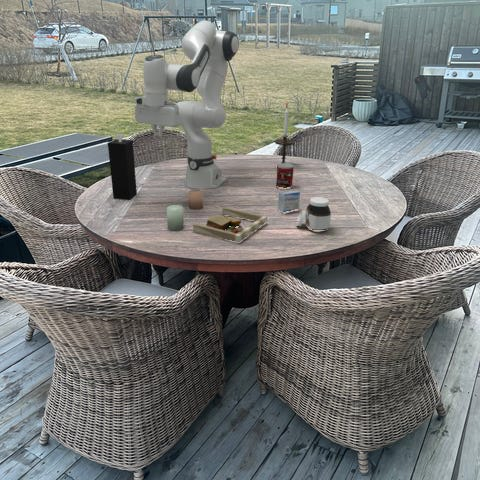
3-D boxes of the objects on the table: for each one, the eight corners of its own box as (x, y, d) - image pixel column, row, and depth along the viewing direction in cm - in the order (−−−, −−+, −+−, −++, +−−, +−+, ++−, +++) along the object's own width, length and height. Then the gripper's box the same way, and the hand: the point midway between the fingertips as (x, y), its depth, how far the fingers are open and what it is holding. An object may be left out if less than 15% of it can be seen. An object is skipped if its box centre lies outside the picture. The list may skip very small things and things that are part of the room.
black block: (129, 200, 195) (124, 136, 183) (113, 199, 196) (106, 134, 184) (137, 194, 202) (132, 132, 190) (121, 193, 203) (115, 131, 191)
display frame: (224, 213, 182) (224, 206, 181) (266, 223, 174) (267, 216, 172) (193, 232, 165) (192, 224, 164) (238, 243, 156) (239, 236, 155)
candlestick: (287, 170, 244) (291, 104, 229) (270, 167, 249) (273, 102, 234) (296, 166, 252) (301, 102, 237) (279, 163, 257) (283, 100, 243)
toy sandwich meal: (228, 241, 159) (228, 228, 157) (200, 231, 166) (200, 219, 164) (249, 230, 168) (249, 218, 166) (221, 221, 175) (221, 210, 173)
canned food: (274, 188, 214) (275, 166, 210) (279, 184, 221) (280, 162, 216) (289, 190, 212) (290, 168, 207) (293, 186, 218) (295, 164, 214)
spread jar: (331, 233, 167) (335, 203, 162) (304, 236, 164) (306, 206, 159) (317, 221, 177) (320, 193, 172) (291, 223, 174) (293, 195, 169)
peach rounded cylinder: (194, 204, 192) (193, 188, 189) (205, 206, 190) (205, 191, 187) (185, 208, 187) (185, 192, 185) (197, 211, 185) (197, 195, 182)
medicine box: (282, 214, 183) (284, 194, 180) (277, 211, 187) (278, 191, 183) (298, 211, 187) (300, 192, 183) (292, 208, 190) (294, 188, 186)
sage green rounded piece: (174, 223, 172) (173, 203, 169) (186, 226, 169) (186, 206, 166) (164, 228, 167) (163, 208, 164) (177, 232, 165) (176, 211, 161)
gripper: (183, 101, 171) (184, 138, 176) (141, 97, 180) (144, 132, 186) (173, 103, 166) (174, 140, 171) (131, 99, 175) (133, 134, 181)
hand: (158, 136), depth 179 cm, fingers closed
